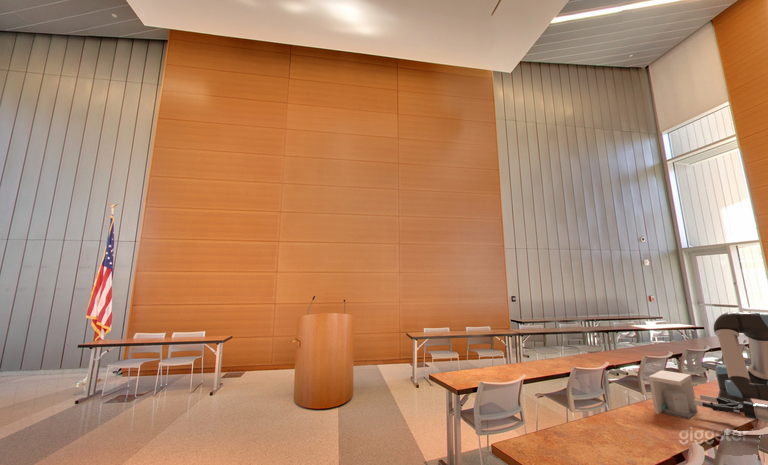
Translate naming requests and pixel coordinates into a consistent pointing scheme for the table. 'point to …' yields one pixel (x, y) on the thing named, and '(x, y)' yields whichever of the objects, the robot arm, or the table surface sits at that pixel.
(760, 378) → the robot arm
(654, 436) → the table surface
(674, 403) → the small box
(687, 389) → the cabinet
